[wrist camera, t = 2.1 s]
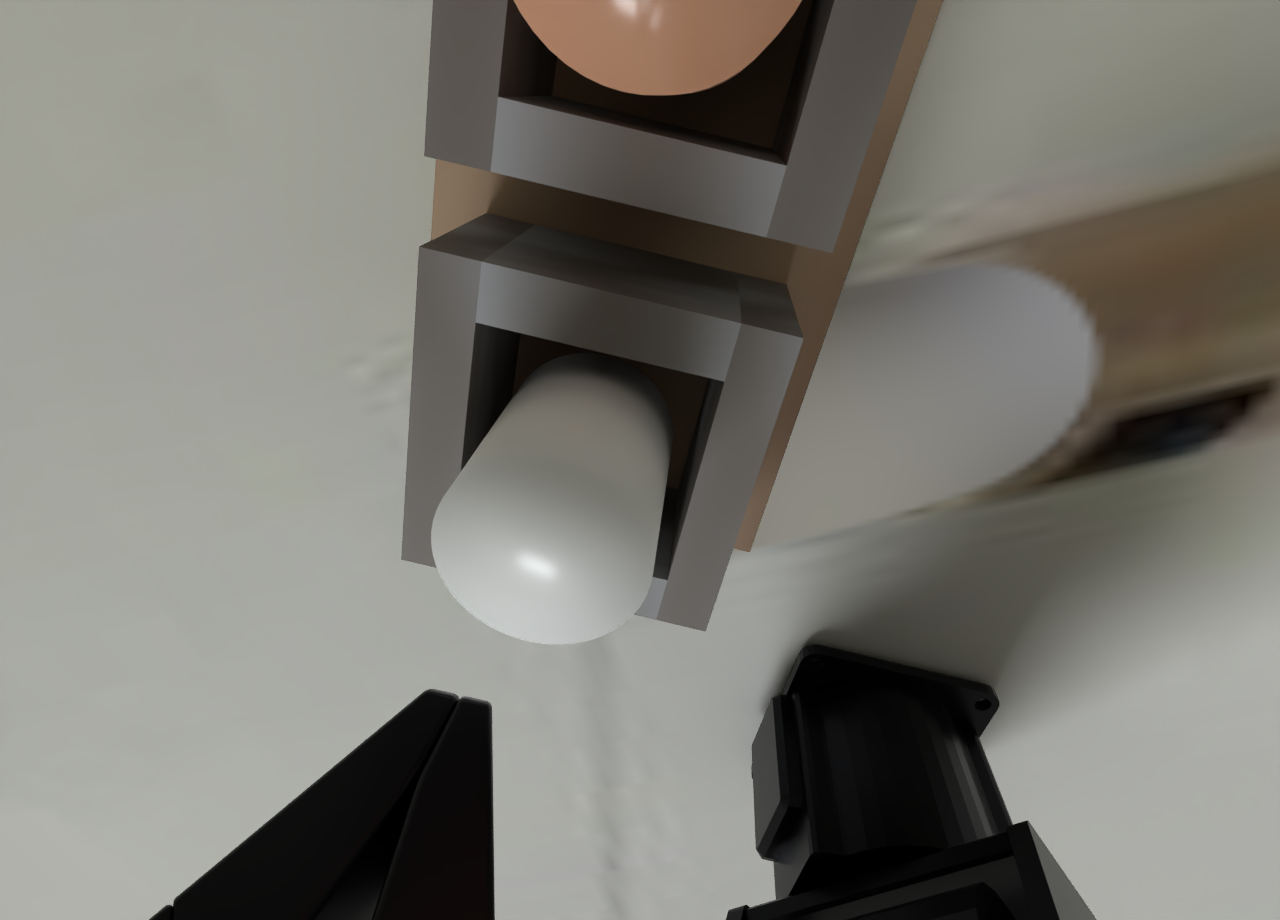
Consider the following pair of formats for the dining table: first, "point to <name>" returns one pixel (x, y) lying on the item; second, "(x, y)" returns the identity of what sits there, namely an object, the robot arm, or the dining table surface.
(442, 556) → the white short rounded cylinder
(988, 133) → the dining table surface
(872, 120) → the double box holder
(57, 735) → the dining table surface
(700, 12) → the terracotta plunger
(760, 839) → the robot arm
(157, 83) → the dining table surface
